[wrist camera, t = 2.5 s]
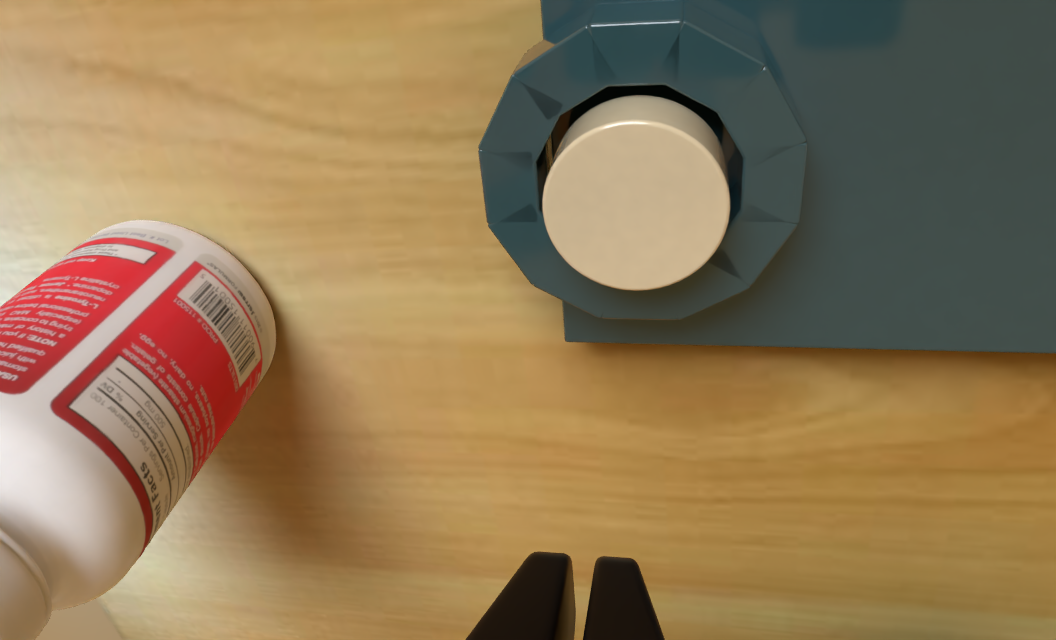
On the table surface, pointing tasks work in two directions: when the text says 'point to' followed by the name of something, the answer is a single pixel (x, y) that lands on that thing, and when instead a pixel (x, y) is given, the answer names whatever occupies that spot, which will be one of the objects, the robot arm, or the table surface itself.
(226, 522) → the table surface
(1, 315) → the pill bottle
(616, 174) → the beige round cap
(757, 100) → the teal rectangular base
